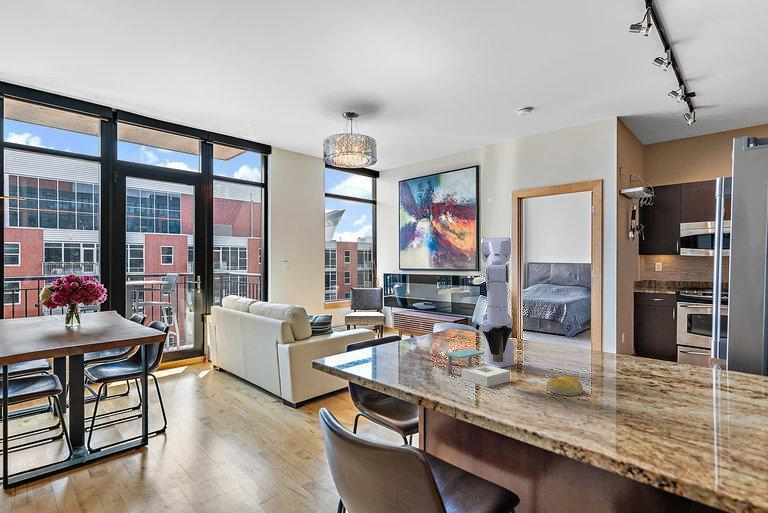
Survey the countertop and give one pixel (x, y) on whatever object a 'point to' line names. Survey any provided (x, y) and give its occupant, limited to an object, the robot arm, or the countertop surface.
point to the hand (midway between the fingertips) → (497, 353)
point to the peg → (500, 356)
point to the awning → (462, 354)
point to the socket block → (485, 375)
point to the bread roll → (565, 386)
